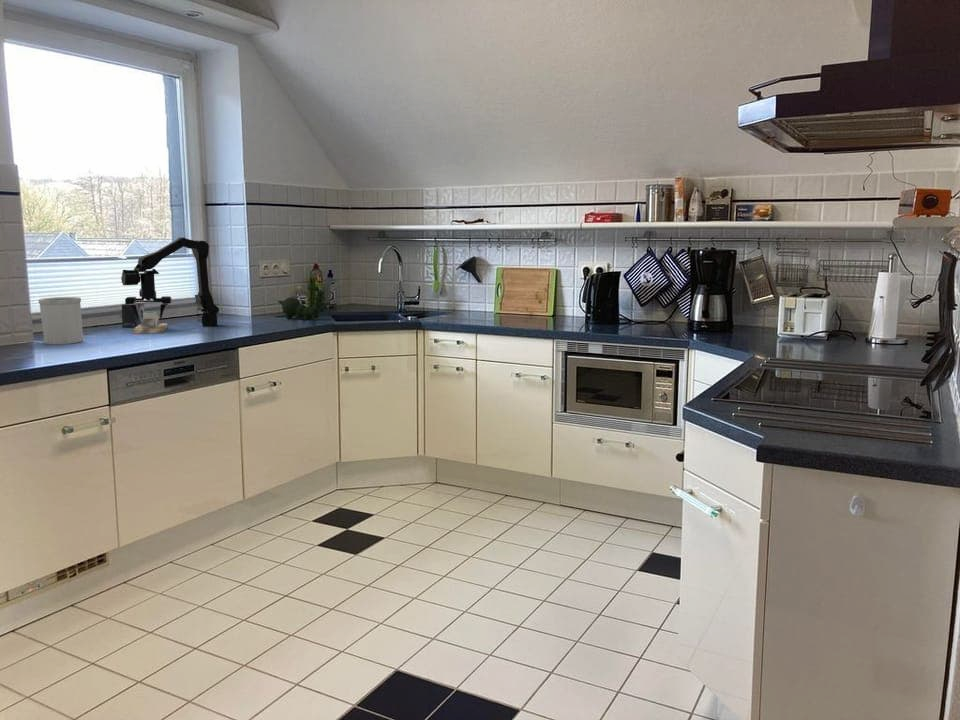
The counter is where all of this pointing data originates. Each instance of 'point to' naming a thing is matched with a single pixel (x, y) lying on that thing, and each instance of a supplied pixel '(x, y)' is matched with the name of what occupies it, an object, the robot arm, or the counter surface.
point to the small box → (131, 315)
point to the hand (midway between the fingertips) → (149, 319)
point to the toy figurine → (303, 306)
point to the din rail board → (156, 330)
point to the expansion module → (150, 316)
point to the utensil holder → (61, 320)
